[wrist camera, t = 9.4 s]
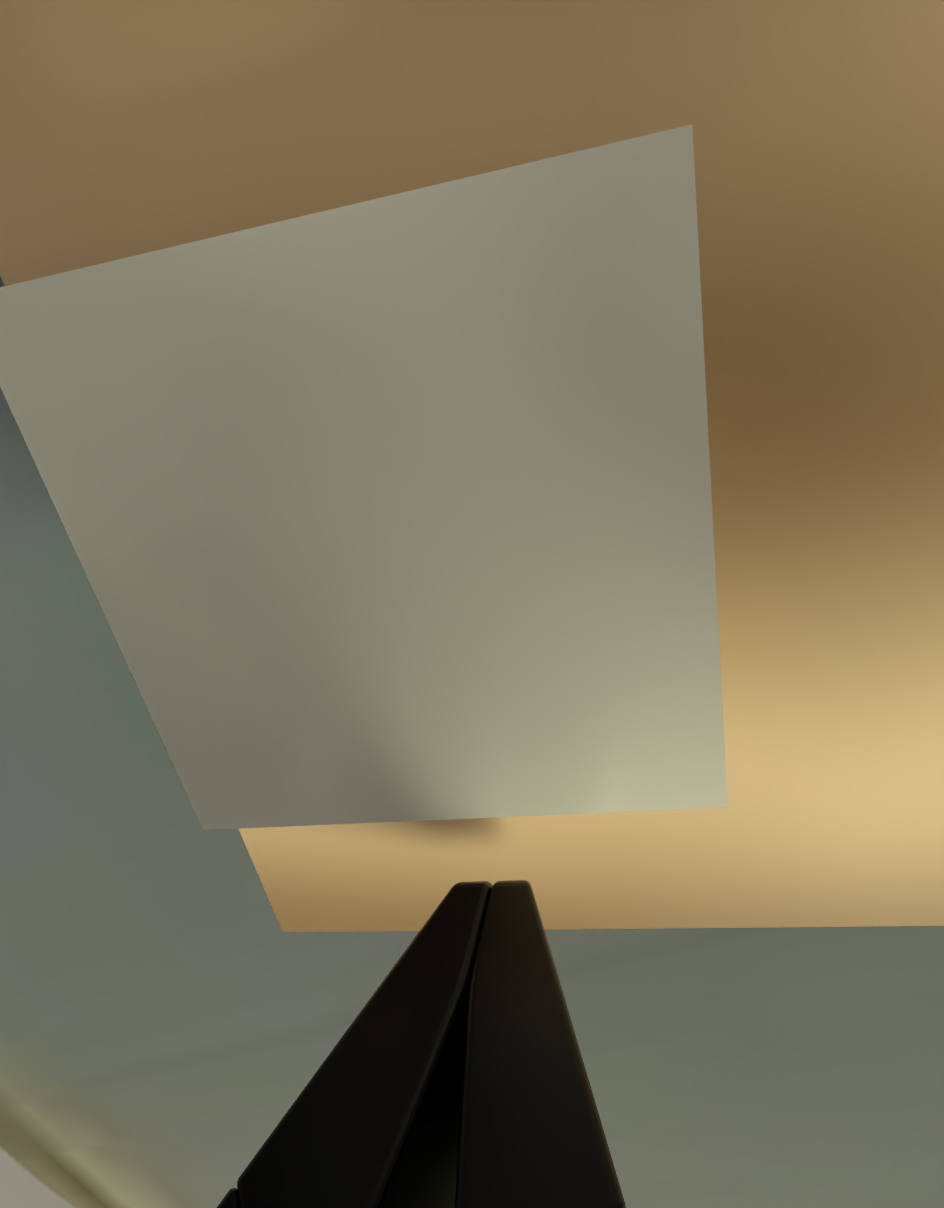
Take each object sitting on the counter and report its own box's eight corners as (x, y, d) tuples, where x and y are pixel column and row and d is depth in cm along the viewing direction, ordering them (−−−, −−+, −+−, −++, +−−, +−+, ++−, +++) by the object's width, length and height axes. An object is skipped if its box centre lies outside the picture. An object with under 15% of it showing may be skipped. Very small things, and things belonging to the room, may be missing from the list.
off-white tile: (695, 668, 7) (727, 807, 6) (285, 702, 8) (203, 830, 7) (659, 157, 5) (692, 123, 4) (131, 278, 6) (-41, 297, 5)
